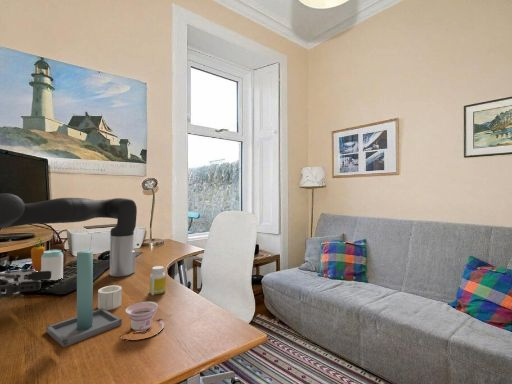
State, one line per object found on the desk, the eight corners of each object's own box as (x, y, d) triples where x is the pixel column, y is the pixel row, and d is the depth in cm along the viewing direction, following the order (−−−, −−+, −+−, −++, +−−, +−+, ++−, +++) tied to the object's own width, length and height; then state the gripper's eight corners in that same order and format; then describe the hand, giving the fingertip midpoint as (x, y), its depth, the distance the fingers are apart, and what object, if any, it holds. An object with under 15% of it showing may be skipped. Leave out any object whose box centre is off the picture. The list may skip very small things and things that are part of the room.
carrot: (37, 274, 118) (37, 239, 117) (27, 273, 119) (28, 239, 118) (48, 271, 122) (48, 237, 122) (38, 270, 123) (39, 237, 123)
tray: (102, 315, 83) (102, 308, 83) (121, 327, 77) (121, 319, 77) (46, 335, 72) (46, 326, 72) (63, 350, 65) (63, 341, 65)
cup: (114, 301, 93) (115, 284, 93) (125, 307, 89) (125, 288, 89) (94, 308, 88) (94, 289, 87) (104, 314, 84) (104, 294, 84)
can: (67, 278, 114) (67, 249, 114) (52, 284, 107) (53, 253, 107) (51, 277, 115) (51, 248, 115) (36, 283, 108) (36, 252, 108)
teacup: (134, 347, 68) (135, 322, 67) (107, 332, 74) (108, 309, 74) (173, 327, 78) (174, 305, 78) (146, 315, 84) (147, 295, 84)
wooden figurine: (47, 270, 124) (47, 237, 124) (49, 266, 129) (50, 234, 129) (65, 268, 127) (66, 236, 127) (67, 265, 132) (67, 234, 132)
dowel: (89, 321, 77) (89, 249, 76) (95, 325, 74) (95, 252, 74) (74, 327, 74) (74, 252, 73) (80, 331, 72) (80, 254, 71)
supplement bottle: (168, 292, 102) (168, 266, 102) (158, 298, 97) (159, 270, 96) (156, 290, 104) (156, 264, 103) (146, 296, 98) (146, 268, 98)
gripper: (-60, 279, 57) (37, 272, 64) (-23, 262, 70) (54, 258, 77) (-61, 315, 57) (36, 305, 64) (-24, 292, 70) (53, 285, 77)
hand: (46, 279), depth 70 cm, fingers open, 8 cm apart
